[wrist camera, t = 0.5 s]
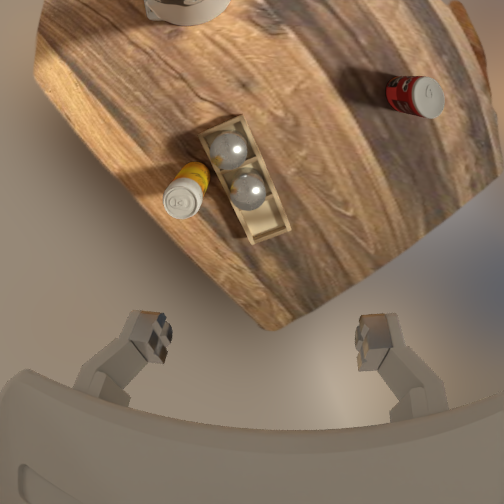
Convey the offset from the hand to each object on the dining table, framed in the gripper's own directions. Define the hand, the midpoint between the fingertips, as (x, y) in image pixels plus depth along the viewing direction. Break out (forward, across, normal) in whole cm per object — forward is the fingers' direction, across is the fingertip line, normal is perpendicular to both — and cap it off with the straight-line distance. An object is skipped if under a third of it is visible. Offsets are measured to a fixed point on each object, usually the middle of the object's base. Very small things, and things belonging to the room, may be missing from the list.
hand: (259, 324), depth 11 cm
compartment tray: (+43, +7, +13) cm, 46 cm away
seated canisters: (+42, +8, +9) cm, 43 cm away
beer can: (+42, +17, +11) cm, 47 cm away
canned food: (+51, -26, -4) cm, 57 cm away
